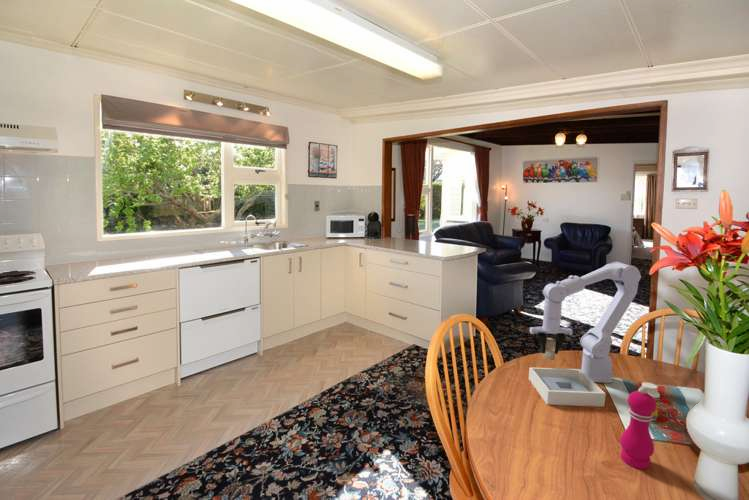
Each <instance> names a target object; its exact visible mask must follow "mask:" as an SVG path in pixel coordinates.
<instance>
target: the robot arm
mask: <svg viewBox="0 0 749 500" xmlns="http://www.w3.org/2000/svg"><path fill="white" fill-rule="evenodd" d="M641 278H642V275H641V272H640V270H639V268H638V267H637V266H635V265H631V264H626V263H623V262H620V261H613V262H611V263H607V264H605V265H604V266H602V267H600V268H598V269H596V270H594V271H591V272H589V273H587V274H586V273H585V275H582V276H578V275H569V276H568V277H567V278H565V279H563V280H561V281H560V280H557V281H556V282H555V283H553V282H551V283H548V284H546V285H545V286H544V288H543V289H542V290H541V291H542V295H543V296H544V303H543V304H544V306H543V321H542V326H532V327H531V326H530V327H529V333H530V334H531V335H536V337H537V339H538V343H539V347H540V352H541V353H542V354H543V353H545V345H546V340H547V338H548V337H547V336H546V334H549V335H553V339H555V340H556V347H555V355H557V354H558V353H559V350H560V348H561V346H562V344H563V343H564V341H565V340H566V338H567V337H566V336H565V335H568V336H572V335H573V329H571V328H568V327H561V318H562V304H563V301H565V299H566V298H567V297H569V296H572V295H574V294H576V293H579V292H582V291H583V290H584V289H585V286H588V285H589V286H590V285H591V284H595V283H598V282H601V281H603V280H612V281H613V282H614V283H615V286H616V288H617V291H616V292H615V295H614V296H613V298H612V299H611V301H610V302H609V304H608V305H607V307H606V309H605V310H604V313H603V314H602V315H601V317H600V319H599V320H598V322H597V324H596V326H595V327H592V328H589V330H588V331H587V332H586V333H585V334H584V335H582V336H581V338H580V343H579V344H580V346H581V347H582V357H581V358H582V360H581V369H580V370H581V371H582V372H583V373H584V374H585V375H587V376H588V377H589V378H590V379H591V380H592V381H593V382H594V383H604V384H605V383H607V384H608V383H611V384H612V383H613V380H612V373H613V360H612V357H611V356H610V355H609V354H610V351H611V346H612V344H613V339H612V334H613V332H614V331H615V329H616V327H617V326H618V324H619V323H620V321H621V320H622V318H623V316H624V315H625V313H626V311H627V310H628V309H629V307H630V305H631V303H632V302H633V300H634V299H635V297H636V296H637V294H638V288H639V282H640V280H641Z"/></svg>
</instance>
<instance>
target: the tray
mask: <svg viewBox="0 0 749 500" xmlns="http://www.w3.org/2000/svg"><path fill="white" fill-rule="evenodd" d="M528 370H529V371H528V381H531V382H530V384H532V386H533V388H536V389H535V390H536V391H537V393H538V394H539V395H540V397H541V398H542V399H543V401H544V403H545V404H546V405H554V406H578V407H579V406H580V407H605V404H606V403H605V402H606V395H607V394H606V392H605V391H604V390H602V388H601V387H600V386H599V385H597V384H596V382H593V381H592V380H591V379H590V378H589V377H588V376H587V375H585V374H584V373H583V372H582V371H581V369H580V368H557V367H556V368H555V367H529V368H528ZM541 377H553V378H576V379H577V380H578V381H579V382H580V383H581V384H582V385H583V386H584V387H585V388H586V389H587V390H588V391H589V392H584V391H557V390H549V389H548V387H547V386H546V385H545V384H544V382H543V381H542V380H541ZM561 389H570V388H561Z"/></svg>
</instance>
